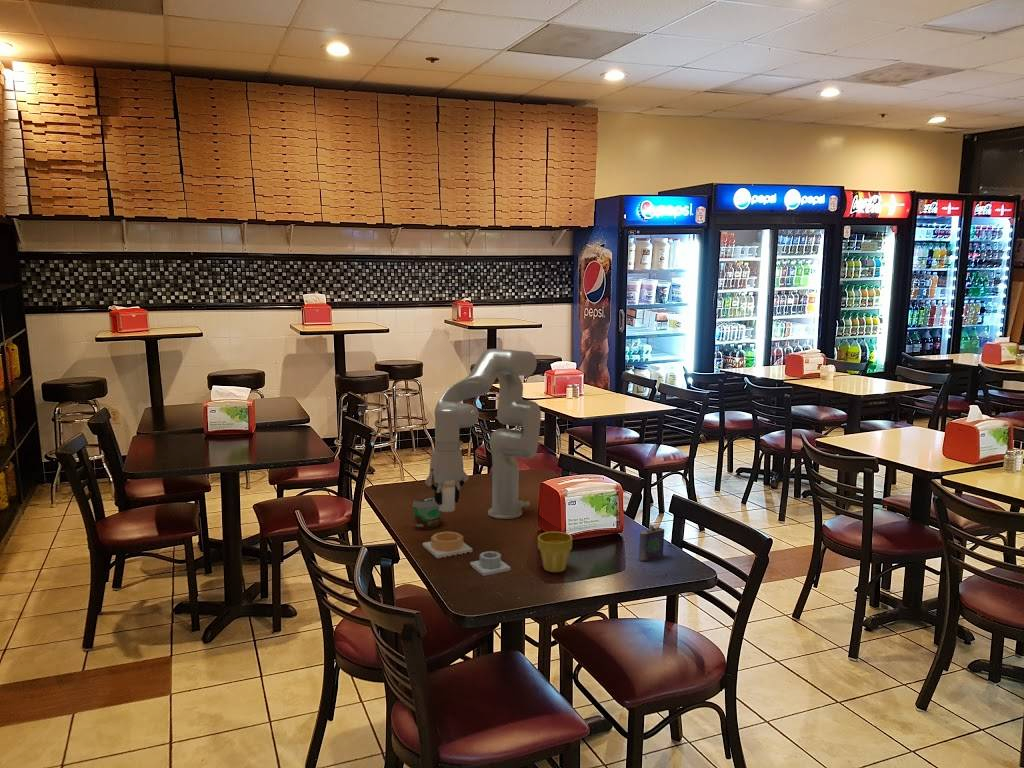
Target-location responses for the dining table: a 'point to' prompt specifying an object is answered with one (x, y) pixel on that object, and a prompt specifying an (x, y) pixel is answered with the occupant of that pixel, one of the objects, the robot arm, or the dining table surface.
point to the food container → (426, 513)
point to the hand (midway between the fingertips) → (446, 502)
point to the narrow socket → (490, 564)
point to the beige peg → (448, 496)
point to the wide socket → (447, 544)
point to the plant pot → (554, 550)
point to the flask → (651, 544)
